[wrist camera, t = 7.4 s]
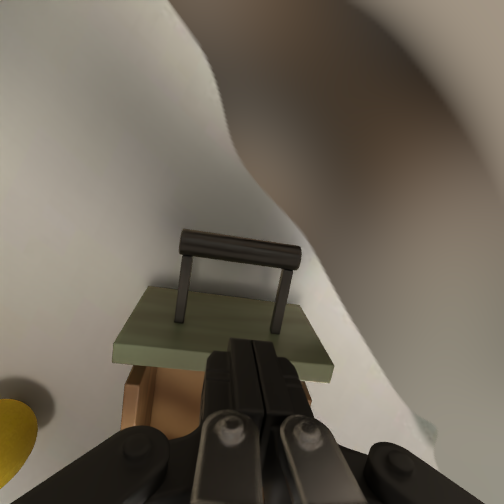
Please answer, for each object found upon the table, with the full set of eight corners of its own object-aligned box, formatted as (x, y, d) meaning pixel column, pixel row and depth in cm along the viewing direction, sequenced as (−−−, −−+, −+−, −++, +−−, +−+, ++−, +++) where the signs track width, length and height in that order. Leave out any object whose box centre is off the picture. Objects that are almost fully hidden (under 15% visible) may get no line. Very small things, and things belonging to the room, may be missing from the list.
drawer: (155, 210, 23) (121, 232, 15) (315, 235, 25) (360, 267, 17) (130, 452, 28) (94, 566, 20) (264, 460, 30) (281, 569, 22)
